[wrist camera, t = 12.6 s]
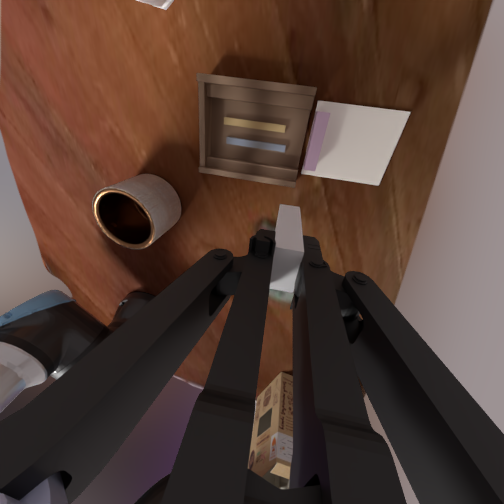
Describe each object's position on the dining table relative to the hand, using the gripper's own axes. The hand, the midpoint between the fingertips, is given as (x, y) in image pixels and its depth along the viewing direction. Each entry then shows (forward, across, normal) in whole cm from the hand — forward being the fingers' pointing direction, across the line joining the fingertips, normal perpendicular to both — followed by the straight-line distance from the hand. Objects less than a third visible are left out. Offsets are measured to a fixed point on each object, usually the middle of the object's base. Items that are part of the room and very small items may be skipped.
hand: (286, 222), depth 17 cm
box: (+22, +9, -69) cm, 73 cm away
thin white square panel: (+21, +8, +5) cm, 23 cm away
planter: (+22, -24, -9) cm, 34 cm away
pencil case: (+21, -6, +5) cm, 23 cm away
